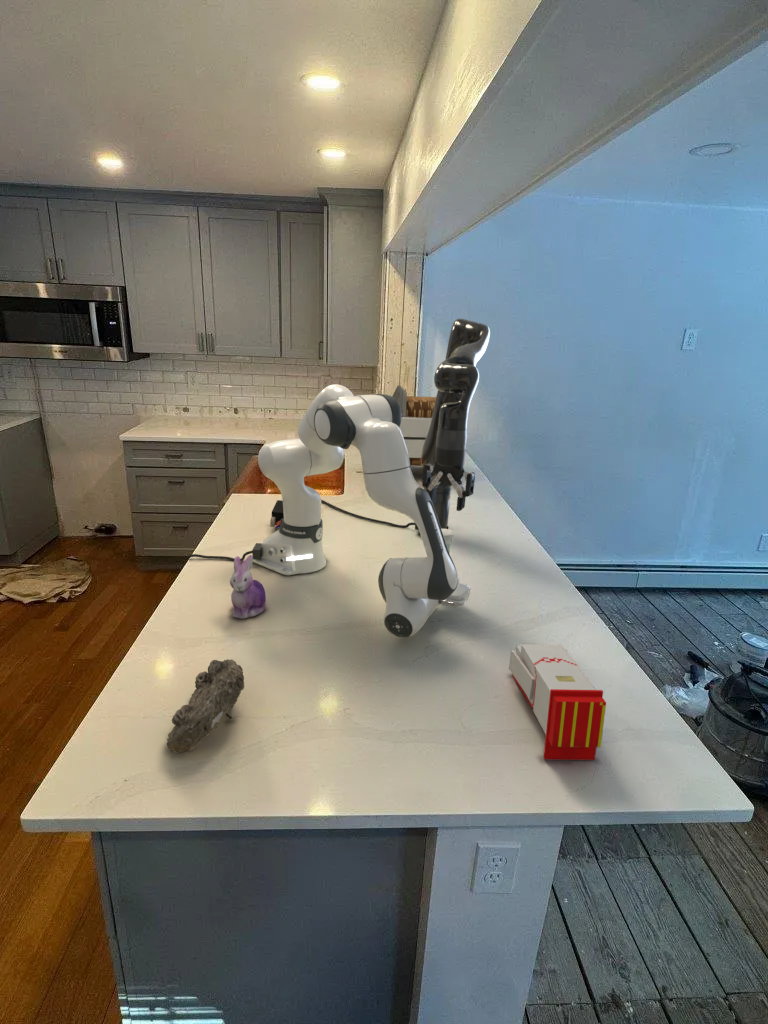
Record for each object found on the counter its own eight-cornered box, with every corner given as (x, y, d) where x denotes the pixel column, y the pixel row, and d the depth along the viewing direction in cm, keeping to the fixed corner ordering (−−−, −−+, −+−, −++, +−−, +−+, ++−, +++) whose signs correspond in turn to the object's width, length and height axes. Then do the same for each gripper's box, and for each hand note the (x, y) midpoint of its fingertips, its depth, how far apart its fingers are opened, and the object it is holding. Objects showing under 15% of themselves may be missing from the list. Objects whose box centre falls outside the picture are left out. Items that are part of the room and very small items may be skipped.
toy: (558, 627, 126) (616, 698, 97) (552, 682, 129) (607, 767, 99) (504, 626, 126) (545, 697, 96) (499, 681, 128) (538, 766, 99)
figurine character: (289, 537, 196) (294, 517, 209) (288, 517, 193) (294, 498, 206) (269, 536, 196) (276, 516, 209) (268, 517, 192) (275, 498, 206)
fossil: (192, 660, 117) (244, 628, 112) (224, 691, 120) (276, 661, 115) (142, 746, 98) (202, 712, 93) (182, 779, 101) (242, 748, 96)
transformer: (382, 463, 289) (386, 382, 275) (445, 464, 293) (451, 384, 279) (390, 482, 257) (394, 392, 243) (460, 483, 261) (468, 394, 247)
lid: (449, 536, 154) (449, 528, 153) (455, 543, 149) (456, 535, 149) (430, 537, 153) (431, 528, 152) (436, 544, 148) (437, 536, 148)
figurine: (235, 623, 139) (232, 568, 134) (225, 604, 148) (222, 552, 143) (272, 616, 143) (271, 562, 138) (261, 598, 152) (259, 546, 147)
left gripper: (462, 596, 139) (478, 574, 150) (386, 577, 146) (407, 557, 158) (460, 618, 141) (475, 595, 153) (385, 599, 148) (405, 578, 160)
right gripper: (483, 447, 142) (476, 509, 147) (433, 438, 149) (428, 497, 155) (470, 452, 136) (464, 517, 141) (418, 443, 143) (414, 504, 149)
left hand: (440, 576), depth 155 cm, fingers open, 8 cm apart
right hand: (445, 506), depth 148 cm, fingers open, 7 cm apart
